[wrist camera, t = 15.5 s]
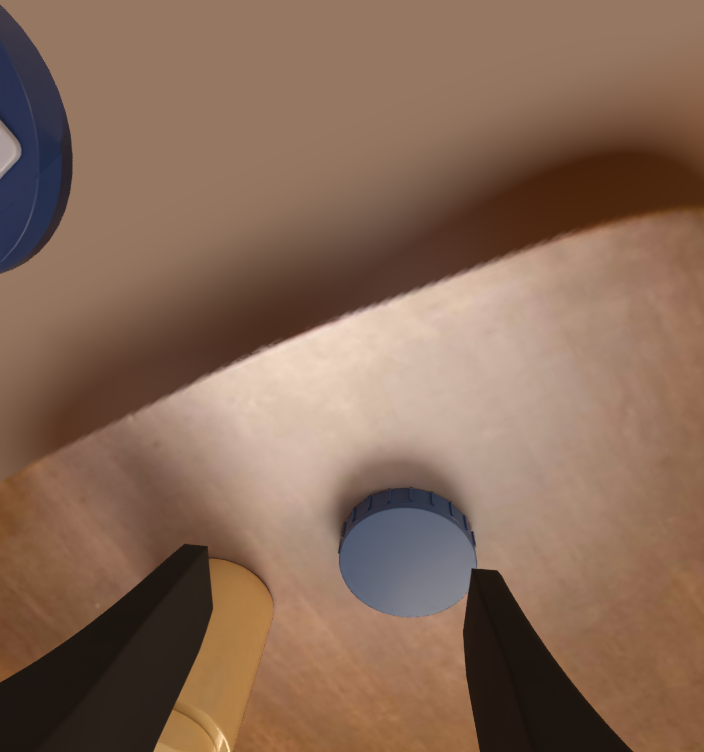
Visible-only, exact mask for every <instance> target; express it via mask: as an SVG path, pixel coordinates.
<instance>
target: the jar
mask: <svg viewBox="0 0 704 752" xmlns="http://www.w3.org/2000/svg"><path fill="white" fill-rule="evenodd" d="M209 568H210V578H211V589H212V599H213V612H212V615H211V618H210V621H209V624H208V628H207V631H206V634H205V637H204V640H203V642H202V645H201V648H200V651H199V653H198V655H197V658H196V660H195V662H194V664H193V666H192V669H191V671H190V673H189V675H188V677H187V680H186V682H185V684H184V686H183V688H182V690H181V692H180V695H179V697H178V699H177V701H176V703H175V705H174V708H173V710H172V712H171V714H170V716H169V718H168V720H167V723H166V725H165V727H164V729H163V731H162V733H161V736H160V738H159V740H158V742H157V744H156V747H155V749H154V752H234V748H235V745H236V742H237V738H238V735H239V731H240V728H241V725H242V721H243V718H244V715H245V711H246V708H247V704H248V701H249V698H250V694H251V691H252V688H253V684H254V681H255V677H256V674H257V671H258V667H259V664H260V661H261V657H262V654H263V650H264V647H265V644H266V640H267V637H268V634H269V630H270V627H271V623H272V620H273V615H274V606H273V601H272V598H271V595H270V593H269V591H268V589H267V588H266V586H265V585H264V583H263V582H262V581H261V580H260V579H259V578H258V577H257V576H256V575H254V574H253V573H252V572H250V571H249V570H248V569H246V568H244V567H242V566H240V565H238V564H235V563H233V562H229V561H226V560H221V559H213V558H209Z"/></svg>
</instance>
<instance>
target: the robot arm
mask: <svg viewBox="0 0 704 752" xmlns="http://www.w3.org/2000/svg"><path fill="white" fill-rule="evenodd" d="M21 151H22V149H21V146H20V143H19V142H18V140H17V138H16V137H15V136H14V135H13V134H12V133H11V131H10V130H9V129H8V128H7V127H6V126H5V124H4V123H3V122H2V121H1V120H0V179H1V178H2V177H3V176H4V174H5V173H6V172H7V171H8V170H9V169H10V168H11V167H12V166H13V165H14V164H15V163H16V162H17V161H18V160H19V158H20V156H21ZM212 612H213V599H212V589H211V578H210V568H209V557H208V547H207V546H200V545H188V544H184V545H183V546H181V547H180V548H179V549H178V550H177V551H176V552H174V553H173V554H172V555H171V556H170V557H169V558H167V559H166V560H165V561H164V562H163V563H162V564H161V565H160V566H158V567H157V568H156V569H155V570H154V571H153V572H152V573H151V574H149V575H148V576H147V577H146V578H145V579H144V580H143V581H141V582H140V583H139V584H138V585H137V586H136V587H134V588H133V589H132V590H131V591H130V592H128V593H127V594H126V595H125V596H124V597H123V598H121V599H120V600H119V601H118V602H117V603H115V604H114V605H113V606H112V607H110V608H109V609H108V610H107V611H105V612H104V613H103V614H102V615H100V616H99V617H98V618H96V619H95V620H94V621H93V622H91V623H90V624H89V625H87V626H86V627H85V628H84V629H82V630H81V631H80V632H78V633H77V634H75V635H74V636H73V637H71V638H70V639H68V640H67V641H66V642H64V643H63V644H61V645H60V646H58V647H57V648H55V649H54V650H52V651H51V652H49V653H48V654H46V655H45V656H43V657H42V658H40V659H39V660H37V661H36V662H34V663H32V664H31V665H29V666H28V667H26V668H24V669H22V670H21V671H19V672H17V673H16V674H14V675H12V676H11V677H9V678H7V679H6V680H4V681H2V682H1V683H0V752H154V749H155V747H156V744H157V742H158V740H159V738H160V736H161V733H162V731H163V729H164V727H165V725H166V723H167V720H168V718H169V716H170V714H171V712H172V710H173V708H174V705H175V703H176V701H177V699H178V697H179V695H180V692H181V690H182V688H183V686H184V684H185V682H186V680H187V677H188V675H189V673H190V671H191V669H192V666H193V664H194V662H195V660H196V658H197V655H198V653H199V651H200V648H201V645H202V642H203V640H204V637H205V634H206V631H207V628H208V624H209V621H210V618H211V615H212ZM463 639H464V653H465V666H466V677H467V683H468V688H469V694H470V699H471V705H472V711H473V716H474V722H475V727H476V732H477V738H478V743H479V749H480V752H633V751H632V750H631V749H630V748H629V747H628V746H627V745H626V744H625V743H624V742H623V741H622V740H621V739H620V738H619V736H618V735H617V734H616V733H615V732H614V731H613V730H612V729H611V728H610V727H609V726H608V724H607V723H606V722H605V721H604V720H603V719H602V718H601V717H600V715H599V714H598V713H597V712H596V711H595V710H594V708H593V707H592V706H591V705H590V704H589V703H588V701H587V700H586V699H585V698H584V697H583V695H582V694H581V693H580V692H579V690H578V689H577V688H576V687H575V685H574V684H573V683H572V682H571V680H570V679H569V678H568V676H567V675H566V674H565V672H564V671H563V670H562V668H561V667H560V666H559V664H558V663H557V662H556V660H555V659H554V658H553V656H552V655H551V653H550V652H549V651H548V649H547V648H546V646H545V645H544V643H543V642H542V640H541V639H540V637H539V636H538V635H537V633H536V632H535V630H534V629H533V627H532V626H531V624H530V623H529V621H528V619H527V618H526V616H525V615H524V613H523V611H522V610H521V608H520V607H519V605H518V603H517V602H516V600H515V598H514V597H513V595H512V593H511V592H510V590H509V588H508V586H507V585H506V583H505V581H504V579H503V577H502V575H501V574H500V573H499V572H498V571H497V570H486V569H474V568H472V569H471V577H470V584H469V591H468V599H467V606H466V614H465V621H464V629H463Z"/></svg>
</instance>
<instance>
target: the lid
mask: <svg viewBox="0 0 704 752" xmlns="http://www.w3.org/2000/svg"><path fill="white" fill-rule="evenodd" d="M474 547H476V543H475V538H474V533H473V531H471V529H470V527H469V524H468V522H467V519H466V516H465V515H462V513H461V512H460V511H459V510H458V509H457V508H456V507H455V506H454V505H453V504H452V502H451V501H450V502H448V501H447V500H446V499H444V498H442V497H440V496H438V495H436V494H434V492H432V491H431V492H427V491H423V490H418V489H412V487H410V489H409V488H401V489H392V490H391V489H388V490H387V491H384V492H380V493H377V494H375V495H373V496H371V495H370V496H369V498H368V499H366V500H365V501H363V502H362V503H361V504H360V505H358V506H357V507H354V508H353V512H352V513H351V515H350V516H349V518H348V520H347V522H344V525H343V531H342V538H341V539H340V545H339V551H338V554H339V566H340V571H341V574H342V577H343V579H344V581H345V583H346V585H347V586H348V588H349V589H350V590H351V592H352V593H353V594H354V595H355V596H356V597H357V598H358V599H359V600H361V601H362V602H363V603H365V604H366V605H368V606H369V607H371V608H373V609H375V610H377V611H380V612H383V613H385V614H389V615H393V616H399V617H422V616H428V615H432V614H436V613H439V612H441V611H444V610H446V609H448V608H450V607H451V606H453V605H454V604H456V603H457V602H458V601H459V600H460V599H462V598H463V596H464V595H465V594H466V593H467V592H468V590H469V584H470V577H471V569H472V568H474V569H476V568H477V559H476V553H475V548H474Z"/></svg>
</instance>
